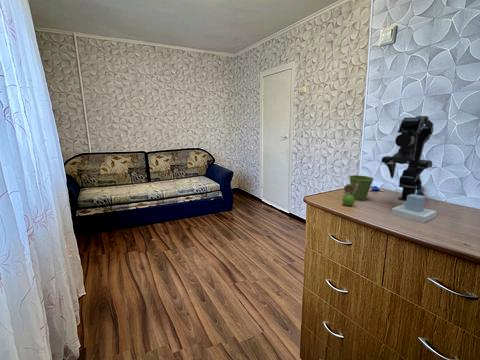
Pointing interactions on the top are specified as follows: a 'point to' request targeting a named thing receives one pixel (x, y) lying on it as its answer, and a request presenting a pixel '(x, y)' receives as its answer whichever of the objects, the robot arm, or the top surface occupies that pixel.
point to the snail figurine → (349, 194)
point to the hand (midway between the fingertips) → (402, 180)
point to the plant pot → (361, 186)
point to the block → (415, 202)
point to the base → (414, 214)
